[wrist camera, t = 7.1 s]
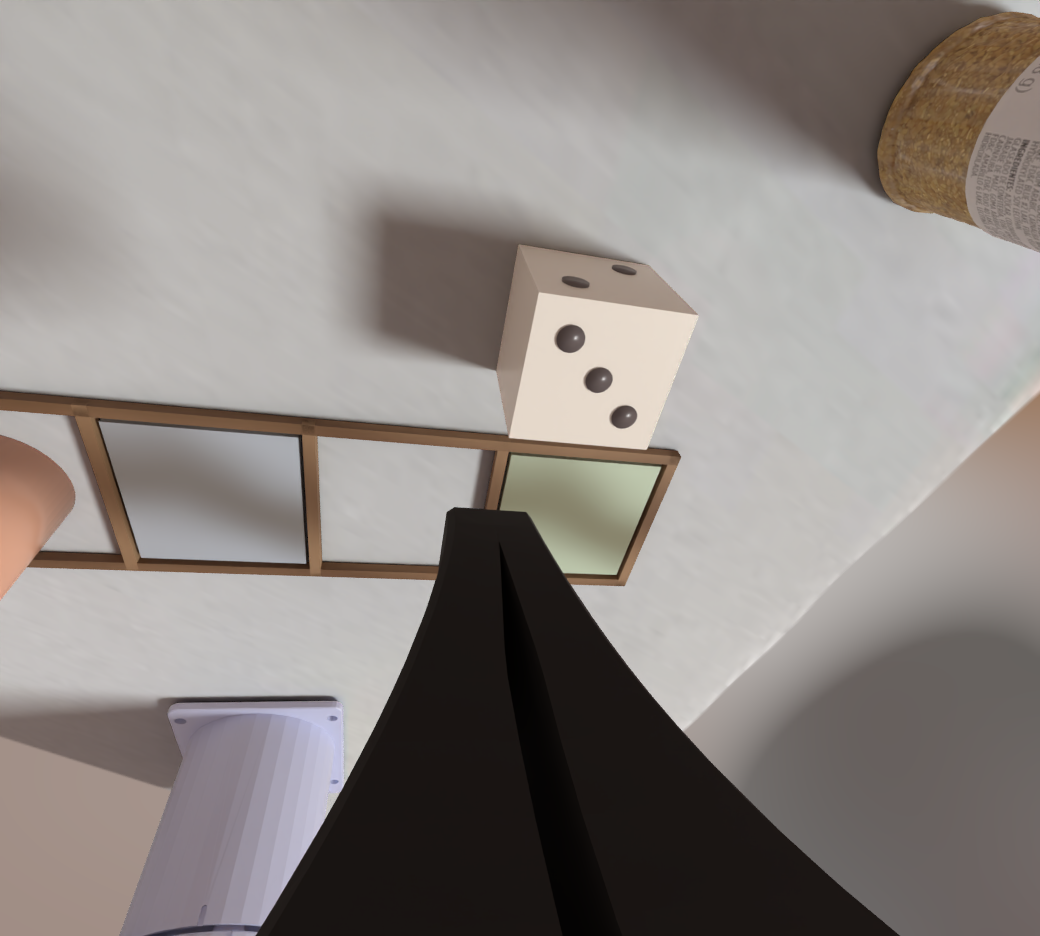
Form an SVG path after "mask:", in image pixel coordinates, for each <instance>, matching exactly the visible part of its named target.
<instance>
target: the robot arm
mask: <svg viewBox="0 0 1040 936" xmlns="http://www.w3.org/2000/svg"><path fill="white" fill-rule="evenodd" d="M167 716H168V718H169V721H170V724H171V727H172V730H173V732H174V735H175V738H176V741H177V743H178V746H179V749H180V752H181V755H182V757H183V759H182V762H181V765H180V768H179V770H178V773H177V776H176V779H175V782H174V784H173V787H172V790H171V793H170V796H169V799H168V801H167V804H166V807H165V810H164V813H163V815H162V818H161V821H160V823H159V827H158V829H157V832H156V835H155V837H154V840H153V843H152V846H151V849H150V852H149V854H148V857H147V860H146V863H145V865H144V868H143V871H142V874H141V876H140V879H139V882H138V885H137V888H136V891H135V893H134V896H133V899H132V902H131V904H130V907H129V910H128V913H127V916H126V918H125V921H124V924H123V927H122V929H121V932H120V935H119V936H899V935H898V934H897V933H896V932H895V931H894V930H892V929H891V928H890V927H889V926H887V925H886V924H885V923H884V922H883V921H882V920H880V919H879V918H878V917H877V916H876V915H874V914H873V913H872V912H871V911H870V910H868V909H867V908H866V907H865V906H864V905H862V904H861V903H860V902H859V901H858V900H856V899H855V898H854V897H853V896H852V895H850V894H849V893H848V892H847V891H846V890H845V889H843V888H842V887H841V886H840V885H839V884H838V883H837V882H835V881H834V880H833V879H832V878H831V877H830V876H829V875H828V874H826V873H825V872H824V871H823V870H822V869H821V868H820V867H819V866H818V865H817V864H816V863H814V862H813V861H812V860H811V859H810V858H809V857H808V856H807V855H806V854H805V853H803V852H802V851H801V850H800V849H799V848H798V847H797V846H796V845H795V844H794V843H792V842H791V841H790V840H789V839H788V838H787V837H786V836H785V835H784V834H783V833H782V832H780V831H779V830H778V829H777V828H776V827H775V826H774V825H773V824H772V823H771V822H770V821H769V820H768V819H767V818H766V817H765V816H764V815H763V814H762V813H761V812H760V811H759V810H758V809H757V808H756V807H755V806H754V805H753V804H752V803H751V802H750V801H749V800H748V799H747V798H746V797H745V796H744V795H743V794H742V793H741V792H740V791H739V790H738V789H737V788H736V787H735V786H734V785H733V784H732V783H731V782H730V781H729V780H728V779H727V778H726V777H725V776H724V775H723V774H722V773H721V772H720V771H719V770H718V769H717V768H716V767H715V766H714V765H713V764H712V763H711V762H710V761H709V760H708V759H707V758H706V756H704V754H703V753H702V752H701V751H700V750H699V749H698V748H697V747H696V746H695V745H694V743H693V742H692V741H691V740H690V739H689V738H688V737H687V736H686V735H685V734H684V732H683V731H682V730H681V729H680V728H679V727H678V726H677V725H676V724H675V722H674V721H673V720H672V719H671V718H670V717H669V715H668V714H667V713H666V712H665V711H664V710H663V708H662V707H661V706H660V705H659V704H658V703H657V701H656V700H655V699H654V698H653V697H652V696H651V694H650V693H649V692H648V691H647V689H646V688H645V687H644V686H643V684H642V683H641V682H640V681H639V679H638V678H637V677H636V676H635V674H634V673H633V672H632V671H631V669H630V668H629V667H628V665H627V664H626V663H625V661H624V660H623V659H622V658H621V656H620V655H619V654H618V652H617V651H616V650H615V648H614V647H613V646H612V644H611V643H610V642H609V640H608V639H607V637H606V636H605V635H604V633H603V632H602V630H601V629H600V628H599V626H598V625H597V623H596V622H595V620H594V619H593V618H592V616H591V615H590V613H589V612H588V610H587V609H586V607H585V606H584V604H583V603H582V601H581V600H580V598H579V597H578V595H577V594H576V592H575V591H574V589H573V588H572V586H571V585H570V583H569V581H568V580H567V578H566V577H565V575H564V573H563V572H562V570H561V569H560V567H559V565H558V564H557V562H556V560H555V559H554V557H553V555H552V554H551V552H550V550H549V549H548V547H547V545H546V544H545V542H544V540H543V538H542V537H541V535H540V533H539V531H538V529H537V528H536V526H535V524H534V522H533V521H532V519H531V517H530V516H529V515H528V514H527V512H521V511H505V510H489V509H473V508H457V507H454V508H453V509H451V510H449V511H448V512H447V514H446V521H445V528H444V534H443V541H442V548H441V555H440V561H439V568H438V574H437V577H436V581H435V584H434V587H433V590H432V593H431V596H430V599H429V603H428V606H427V609H426V611H425V614H424V617H423V619H422V622H421V624H420V627H419V629H418V632H417V634H416V637H415V639H414V642H413V644H412V647H411V649H410V652H409V654H408V657H407V659H406V662H405V664H404V666H403V668H402V671H401V673H400V675H399V677H398V680H397V682H396V684H395V686H394V688H393V690H392V693H391V695H390V697H389V699H388V701H387V703H386V705H385V707H384V709H383V711H382V713H381V716H380V718H379V720H378V722H377V724H376V726H375V728H374V730H373V732H372V734H371V736H370V738H369V739H368V741H367V743H366V745H365V747H364V749H363V751H362V753H361V755H360V757H359V758H358V760H357V762H356V764H355V766H354V768H353V770H352V772H351V774H350V776H349V777H348V779H347V781H346V783H345V785H344V736H343V705H342V704H341V703H340V702H338V701H283V702H207V703H176V704H173V705H171V706H170V708H169V710H168V713H167ZM343 786H344V787H343ZM340 791H341V792H340ZM338 792H340V794H339V796H338V798H337V799H336V801H335V803H334V805H333V807H332V808H331V810H330V812H329V814H328V815H327V817H326V819H325V813H326V806H327V799H328V793H338ZM324 819H325V821H324Z"/></svg>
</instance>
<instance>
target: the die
mask: <svg viewBox="0 0 1040 936" xmlns="http://www.w3.org/2000/svg"><path fill="white" fill-rule="evenodd" d="M698 317H699V315H698V314H697V313H696V312H695V311H694V310H693V309H692V308H691V307H690V306H689V305H688V304H687V303H686V302H685V301H684V300H683V299H682V298H681V297H680V296H679V295H678V294H677V293H676V292H675V291H674V290H673V289H672V288H671V287H670V286H669V285H668V284H667V283H666V282H665V281H664V280H663V279H662V278H661V277H660V276H659V275H658V274H657V273H656V272H655V271H654V270H653V269H652V268H651V267H650V266H649V265H644V264H638V263H631V262H625V261H619V260H613V259H607V258H601V257H594V256H588V255H582V254H576V253H570V252H564V251H557V250H551V249H545V248H539V247H533V246H527V245H520V244H518V249H517V255H516V261H515V266H514V272H513V278H512V284H511V289H510V295H509V301H508V306H507V312H506V318H505V324H504V329H503V335H502V341H501V347H500V352H499V358H498V364H497V369H496V372H497V377H498V383H499V388H500V393H501V399H502V404H503V409H504V415H505V420H506V425H507V431H508V436H509V438H515V439H527V440H538V441H550V442H561V443H573V444H584V445H596V446H607V447H619V448H630V449H642V450H647V448H648V445H649V443H650V440H651V437H652V435H653V432H654V430H655V427H656V425H657V422H658V419H659V417H660V414H661V412H662V409H663V407H664V404H665V401H666V399H667V396H668V394H669V391H670V389H671V386H672V383H673V381H674V378H675V376H676V373H677V371H678V368H679V365H680V363H681V360H682V358H683V355H684V353H685V350H686V347H687V345H688V342H689V340H690V337H691V335H692V332H693V329H694V327H695V324H696V322H697V319H698Z"/></svg>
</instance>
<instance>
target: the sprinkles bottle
mask: <svg viewBox="0 0 1040 936" xmlns="http://www.w3.org/2000/svg"><path fill="white" fill-rule="evenodd" d="M877 159H878V165H879V176H880V180H881V183H882V186H883V188H884V190H885V192H886V193H887V195H888V196H889V197H890V198H891V199H892V201H893V202H894V203H896V204H898V205H900V206H902V207H904V208H906V209H909V210H911V211H915V212H923V213H936V214H939V215H942V216H945V217H948V218H952V219H954V220H957V221H960V222H965V223H967V224H969V225H972V226H975V227H978V228H980V229H982V230H983V231H985V232H986V233H988V234H990V235H992V236H994V237H997V238H1000V239H1003V240H1006V241H1009V242H1012V243H1015V244H1017V245H1020V246H1023V247H1026V248H1029V249H1032V250H1034V251H1037V252H1040V18H1038V17H1036V16H1034V15H1032V14H1026V13H1019V12H1005V13H1000V14H996V15H993V16H988V17H981V18H979V19H977V20H976V21H974V22H972V23H971V24H969V25H967V26H965V27H963V28H961V29H959V30H957V31H955V32H954V33H953V34H952V35H950V36H949V37H948V38H947V39H945V40H944V41H943V42H942V43H940V44H939V45H938V46H937V47H936V48H934V49H933V50H932V51H931V52H930V54H929V55H928V56H927V57H926V58H924V59H923V60H922V61H921V62H920V63H919V64H918V65H917V66H916V67H915V68H914V70H913V71H912V72H911V74H910V76H909V78H908V79H907V81H906V82H905V84H904V85H903V87H902V88H901V89H900V91H899V92H898V94H897V96H896V97H895V99H894V101H893V103H892V105H891V108H890V110H889V112H888V115H887V118H886V121H885V124H884V126H883V129H882V133H881V138H880V141H879V146H878V150H877Z"/></svg>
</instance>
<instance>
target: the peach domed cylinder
mask: <svg viewBox="0 0 1040 936" xmlns="http://www.w3.org/2000/svg"><path fill="white" fill-rule="evenodd" d="M74 504H75V491H74V487H73V485H72V483H71V480H70V479H69V477H68V476H67V474H66V473H65V472H64V471H63V470H62V468H61V467H59V466H58V465H57V464H56V463H55V462H54V461H53V460H52V459H50V458H49V457H48V456H46V455H45V454H43V453H42V452H40V451H38V450H37V449H35V448H33V447H31V446H29V445H27V444H25V443H22V442H20V441H17V440H14V439H12V438H8V437H5V436H1V435H0V600H1V599H2V598H3V596H4V595H5V594H6V593H7V591H8V590H9V589H10V588H11V586H12V585H13V584H14V583H15V581H16V580H17V579H18V577H19V576H20V575H21V574H22V572H23V571H24V570H25V569H26V567H27V566H28V565H29V564H30V562H31V561H32V560H33V559H34V557H35V556H36V555H37V554H38V552H39V551H40V550H41V548H42V547H43V546H44V545H45V543H46V542H47V541H48V540H49V538H50V537H51V536H52V535H53V533H54V532H55V531H56V530H57V528H58V527H59V526H60V525H61V523H62V522H63V521H64V520H65V518H66V517H67V516H68V514H69V513H70V512H71V510H72V509H73V507H74Z"/></svg>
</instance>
